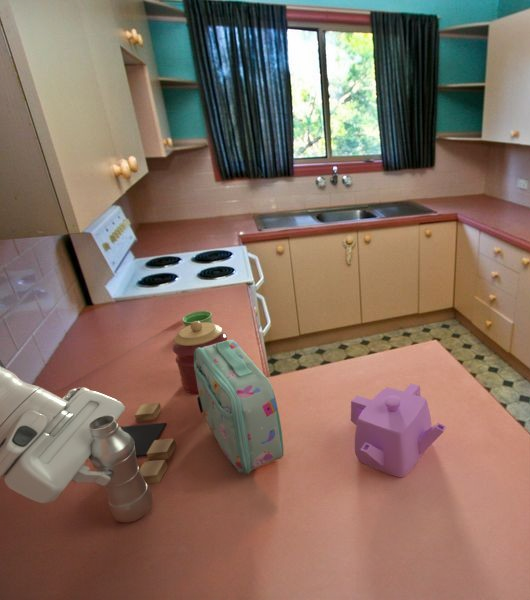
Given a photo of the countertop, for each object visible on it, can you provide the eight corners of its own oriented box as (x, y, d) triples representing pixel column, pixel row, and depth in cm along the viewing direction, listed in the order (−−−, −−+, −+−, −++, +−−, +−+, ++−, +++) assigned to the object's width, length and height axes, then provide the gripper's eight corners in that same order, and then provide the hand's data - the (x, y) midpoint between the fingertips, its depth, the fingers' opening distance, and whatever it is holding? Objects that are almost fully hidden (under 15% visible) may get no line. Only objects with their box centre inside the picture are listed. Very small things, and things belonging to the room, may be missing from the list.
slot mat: (97, 461, 88) (96, 459, 88) (121, 428, 97) (120, 426, 97) (148, 456, 89) (147, 454, 88) (166, 424, 98) (166, 422, 98)
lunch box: (199, 420, 99) (177, 339, 90) (242, 401, 105) (226, 324, 96) (243, 490, 80) (220, 395, 71) (293, 462, 86) (278, 372, 77)
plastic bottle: (149, 490, 80) (119, 404, 72) (160, 512, 76) (130, 422, 68) (110, 511, 76) (73, 422, 68) (119, 535, 72) (82, 442, 64)
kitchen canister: (171, 391, 110) (153, 330, 102) (205, 364, 121) (191, 308, 114) (214, 398, 106) (199, 336, 99) (245, 370, 118) (233, 313, 111)
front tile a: (137, 484, 82) (134, 477, 81) (146, 469, 85) (144, 461, 84) (159, 482, 82) (156, 474, 81) (167, 467, 86) (165, 459, 85)
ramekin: (219, 327, 143) (216, 315, 141) (192, 337, 137) (189, 325, 135) (206, 319, 148) (204, 308, 147) (180, 329, 142) (177, 317, 140)
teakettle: (418, 414, 98) (417, 369, 93) (448, 467, 83) (450, 416, 78) (346, 432, 94) (341, 385, 89) (364, 491, 79) (360, 439, 74)
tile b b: (149, 461, 87) (146, 453, 86) (156, 447, 91) (154, 440, 90) (169, 459, 88) (166, 451, 87) (176, 445, 91) (174, 438, 90)
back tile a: (136, 421, 99) (134, 414, 98) (144, 411, 102) (142, 404, 102) (154, 420, 99) (152, 413, 98) (161, 409, 103) (159, 402, 102)
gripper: (66, 395, 77) (138, 432, 81) (-24, 484, 58) (75, 527, 63) (85, 372, 75) (156, 412, 80) (-2, 456, 57) (98, 501, 61)
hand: (120, 463), depth 71 cm, fingers closed on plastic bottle, 6 cm apart
